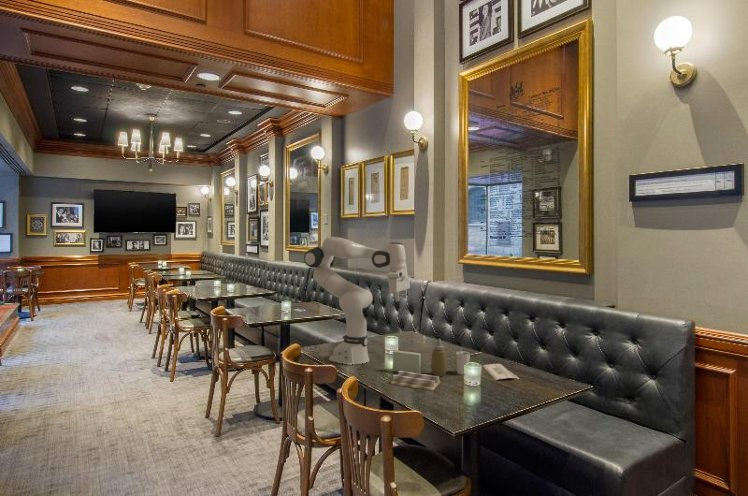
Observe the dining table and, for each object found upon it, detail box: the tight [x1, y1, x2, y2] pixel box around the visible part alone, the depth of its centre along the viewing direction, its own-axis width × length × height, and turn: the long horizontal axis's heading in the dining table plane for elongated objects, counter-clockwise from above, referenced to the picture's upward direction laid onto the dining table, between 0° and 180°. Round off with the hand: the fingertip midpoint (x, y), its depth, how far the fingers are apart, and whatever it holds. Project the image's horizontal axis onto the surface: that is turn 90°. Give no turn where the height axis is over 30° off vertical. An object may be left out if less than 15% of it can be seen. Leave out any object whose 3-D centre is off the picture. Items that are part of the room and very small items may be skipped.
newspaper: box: [481, 363, 521, 381], centre depth 223 cm, size 23×12×2 cm, turn 3°
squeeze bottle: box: [430, 338, 448, 377], centre depth 220 cm, size 8×8×18 cm
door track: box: [390, 371, 441, 392], centre depth 207 cm, size 20×12×4 cm, turn 65°
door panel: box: [392, 349, 422, 374], centre depth 224 cm, size 14×3×10 cm, turn 65°
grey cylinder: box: [455, 351, 471, 376], centre depth 223 cm, size 7×7×10 cm
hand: (401, 299), depth 229 cm, fingers open, 8 cm apart
